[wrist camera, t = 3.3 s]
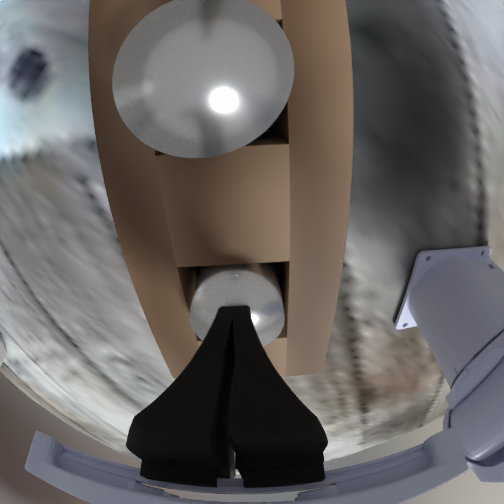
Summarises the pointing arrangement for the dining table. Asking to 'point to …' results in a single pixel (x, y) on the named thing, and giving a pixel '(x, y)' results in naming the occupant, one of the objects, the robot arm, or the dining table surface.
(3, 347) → the jar
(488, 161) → the dining table surface
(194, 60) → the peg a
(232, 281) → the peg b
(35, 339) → the dining table surface
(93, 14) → the walnut frame
